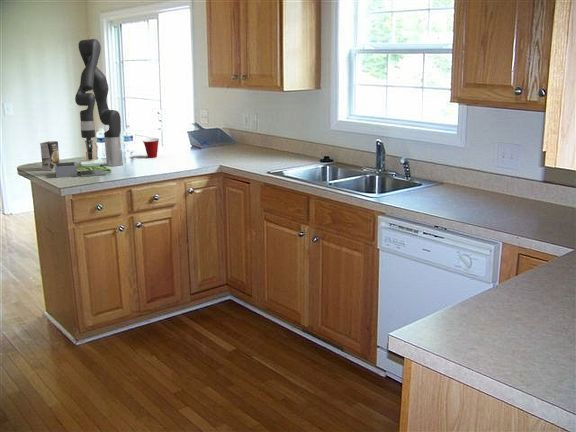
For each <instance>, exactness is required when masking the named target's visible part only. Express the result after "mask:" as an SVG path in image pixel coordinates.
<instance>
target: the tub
mask: <svg viewBox="0 0 576 432" xmlns="http://www.w3.org/2000/svg"><path fill="white" fill-rule="evenodd" d="M54 164H55V170H54V172H55V177H56V178H57V179H59V178H60V179H61V178H70V177H73V178H75V177H78V171H77V170H78V169H77V164H76V162H75V161H71V162H60V163H54Z"/></svg>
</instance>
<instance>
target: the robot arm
mask: <svg viewBox="0 0 576 432" xmlns="http://www.w3.org/2000/svg"><path fill="white" fill-rule="evenodd" d="M101 49H102V46H101V42H99V40H98V39H96V38H91V39H81V40H79V42H78V51H79V54H80V56H81V59H82V62H83V63H84V66H85V67H84V69H83V70H82V72H81V75H80V82H79V87H78V89H77V92H76V94H75V98H74V101H75V104H76V105H77V106H79V107H87V108H86V109H84V110H80V111H79V117H80V135H81V138H83V139H86V140H84V143H85V148H86V152H87V153H88V159H89V160H92V152H94V151H93V148H94V146H93V144H94V142H93V141H94V140H92V139H93V138H95V137H96V130H95V129H96V128H95V126H96V125H95V120H94V109H95V104H96V107H97V113H98V116H99V120H100V123H102V125H104V126H108V130H107V131H104V133H103V139H104V151H105V158H106V159H105V163H106V165H107V166H110V167H116V166H123V153H122V152H123V151H122V145H121V144H122V143H121V131H122V128H121V127H122V124H121V123H122V121H121V115H120V112H119V111H117V110H115V109H114V110H113V109H109V106H108V103H107V101H108V100H107V99H108V94H109V85H108V81H107V77H106V76H105V74H104V73H103V71H101V69H100V68H98V63H99V60H100V56H101V51H102V50H101ZM91 91H92V92H93V93H92V92H91Z"/></svg>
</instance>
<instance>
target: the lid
mask: <svg viewBox="0 0 576 432" xmlns="http://www.w3.org/2000/svg"><path fill="white" fill-rule="evenodd" d="M94 155H95V153H94V151H93V152H92V160H89V159H88V153H87V151H86V152H85V158H86V159H83V160H79V163H80V165H81V166H83V167H100V166H101V165H103V162H102V160H101V159H99V158H98V159H95V157H94Z"/></svg>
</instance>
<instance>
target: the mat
mask: <svg viewBox="0 0 576 432" xmlns="http://www.w3.org/2000/svg"><path fill="white" fill-rule="evenodd" d="M79 174H80V177H81V178H86V177H98V176H106V172H105V170H104V169H93V170H92V169H91V170H79Z"/></svg>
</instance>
